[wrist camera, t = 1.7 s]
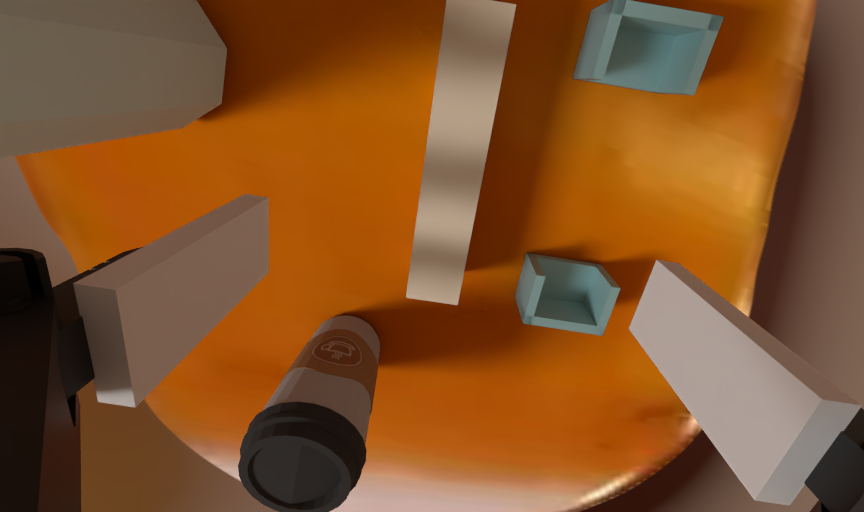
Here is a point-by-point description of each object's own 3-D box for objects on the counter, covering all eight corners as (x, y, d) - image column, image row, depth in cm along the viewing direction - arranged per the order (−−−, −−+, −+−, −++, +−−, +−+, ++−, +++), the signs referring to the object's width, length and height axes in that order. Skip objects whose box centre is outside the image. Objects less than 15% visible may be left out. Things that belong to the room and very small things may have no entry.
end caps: (590, 10, 28) (615, -3, 24) (684, 26, 28) (724, 16, 24) (514, 296, 37) (522, 323, 33) (585, 307, 37) (602, 335, 33)
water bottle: (262, 47, 30) (-361, -72, 7) (200, 152, 33) (-366, 310, 10) (137, -59, 28) (-1398, -753, 5) (83, 65, 31) (-980, 14, 8)
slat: (448, 10, 29) (447, -7, 23) (503, 19, 29) (516, 4, 23) (412, 265, 37) (405, 297, 31) (456, 271, 37) (457, 305, 31)
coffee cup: (399, 315, 38) (371, 446, 25) (381, 383, 42) (347, 531, 28) (312, 294, 38) (233, 415, 24) (301, 364, 41) (226, 506, 27)
